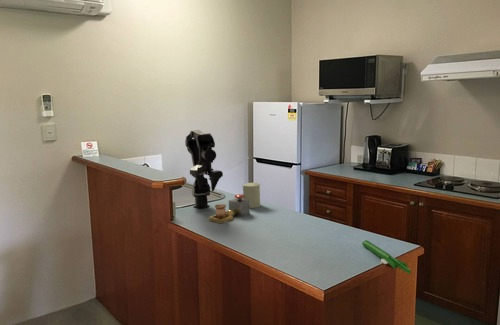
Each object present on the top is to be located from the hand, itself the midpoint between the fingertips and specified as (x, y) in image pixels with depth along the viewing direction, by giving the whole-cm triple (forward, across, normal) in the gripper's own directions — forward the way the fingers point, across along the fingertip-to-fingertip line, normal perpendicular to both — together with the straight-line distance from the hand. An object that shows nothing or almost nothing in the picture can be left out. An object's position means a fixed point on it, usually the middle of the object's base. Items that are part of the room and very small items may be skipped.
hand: (206, 189), depth 203 cm
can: (+12, +8, +24) cm, 28 cm away
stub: (+12, +14, -4) cm, 19 cm away
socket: (+12, +14, -4) cm, 19 cm away
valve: (+12, +14, +6) cm, 19 cm away
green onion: (+12, +95, -3) cm, 96 cm away
